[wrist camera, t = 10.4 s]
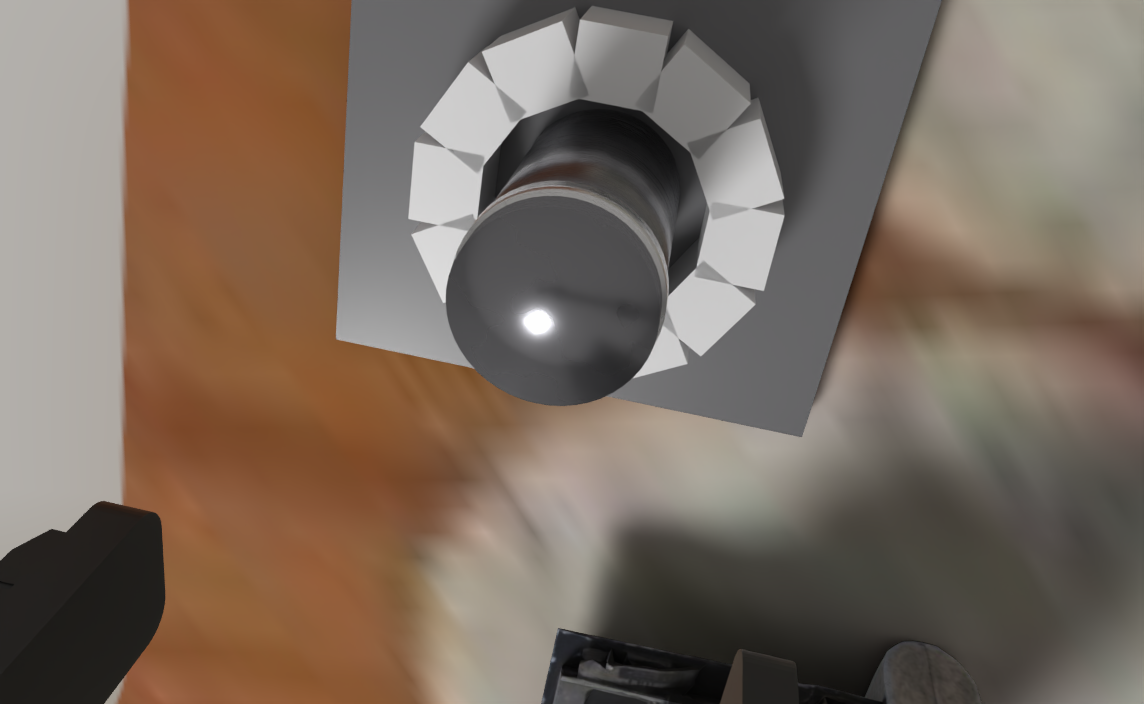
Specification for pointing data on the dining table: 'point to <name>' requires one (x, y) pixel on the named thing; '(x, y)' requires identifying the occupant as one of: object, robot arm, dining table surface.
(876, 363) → the dining table surface
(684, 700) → the vintage camera
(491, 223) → the lens
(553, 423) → the dining table surface
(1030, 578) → the dining table surface
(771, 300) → the mount
